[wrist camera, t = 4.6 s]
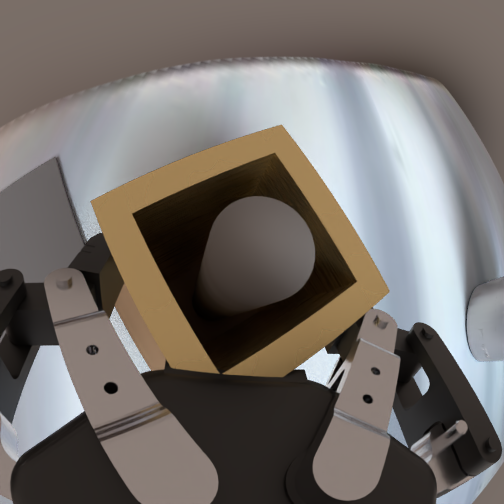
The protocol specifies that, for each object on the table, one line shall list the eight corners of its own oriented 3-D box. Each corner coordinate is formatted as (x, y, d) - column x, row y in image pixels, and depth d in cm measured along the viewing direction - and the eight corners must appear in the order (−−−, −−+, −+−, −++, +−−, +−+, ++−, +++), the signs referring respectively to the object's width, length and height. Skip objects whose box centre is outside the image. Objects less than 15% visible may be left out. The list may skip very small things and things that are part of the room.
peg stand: (234, 205, 20) (302, 57, 8) (310, 328, 19) (472, 308, 7) (104, 273, 16) (-7, 171, 4) (184, 409, 15) (195, 544, 3)
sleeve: (227, 235, 17) (281, 124, 8) (276, 316, 16) (389, 291, 7) (143, 279, 15) (90, 201, 6) (192, 366, 14) (208, 422, 5)
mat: (57, 160, 17) (55, 156, 17) (101, 284, 16) (99, 283, 16) (-36, 226, 14) (-39, 224, 13) (-7, 351, 13) (-11, 351, 12)
